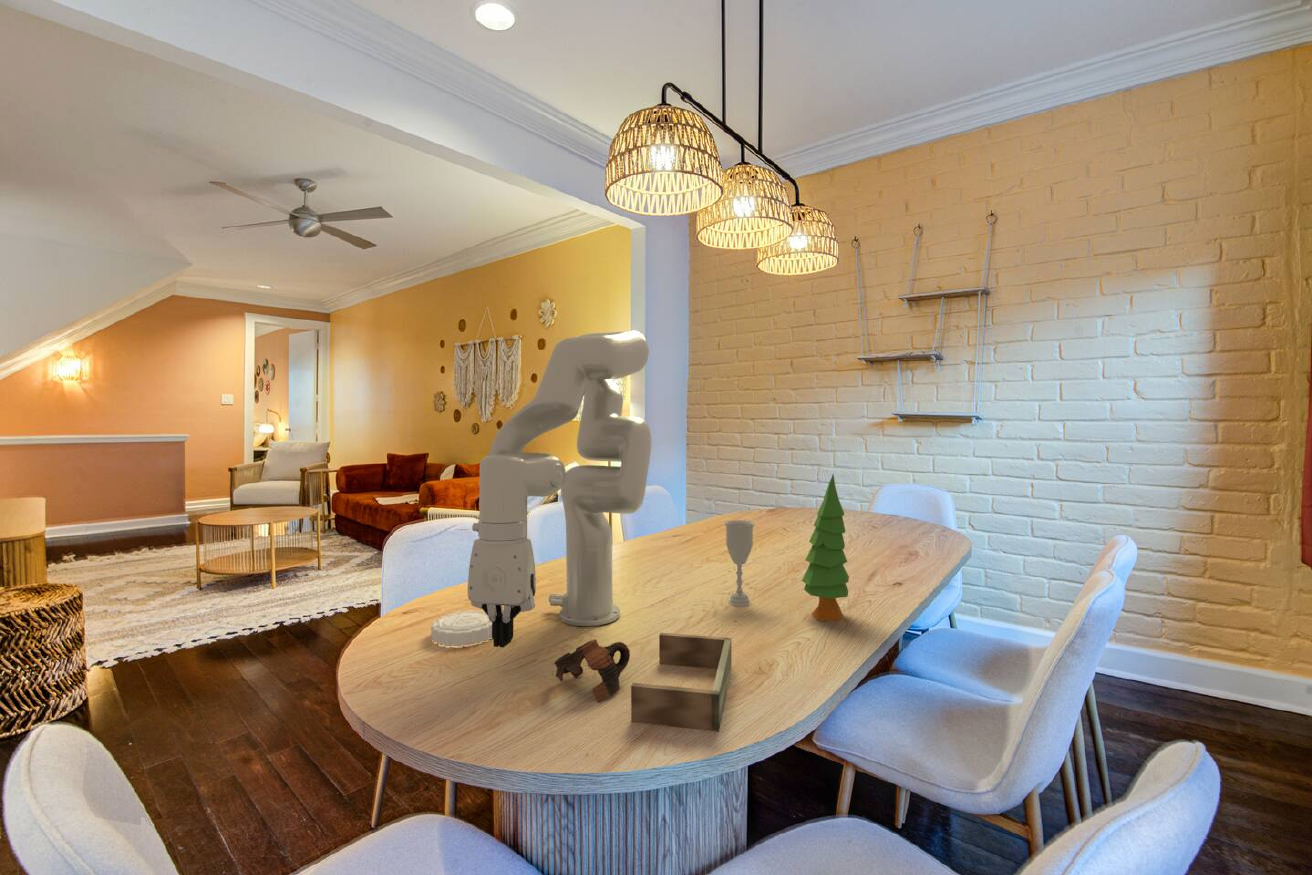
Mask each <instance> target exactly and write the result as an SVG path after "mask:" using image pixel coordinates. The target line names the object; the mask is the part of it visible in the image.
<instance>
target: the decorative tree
mask: <svg viewBox="0 0 1312 875" xmlns="http://www.w3.org/2000/svg"><path fill="white" fill-rule="evenodd" d="M830 477H831V478H830V480H829V482H828V485H827V488H826V491H825V494H824V497H823V500H822V503H821V505H820V507H819V508H818V509H819V510H818V511H817V513H816V515H817V516H816V519H815V521H814V523H813V526H814V527H815V528H814V530H813V532H812V535H811V537H810V539H809V541H808V542H809V543H810V544H812V546H811V548H810V549H809V552H808V554H807V556H806V558H805V560H804V561H805V562H807V563H809V565H808V566H807V568H806V571H805V573H804V575H803V577H802V580H801V582H803V583H805V586H804V588H803V591H804V592H806V593H808V594H809V595H810V596H813V597H817V598H818V603H817V604H818V605H817V607H816V608H815V609H814V610H813V611H812V612H811V616H812V617H813V618H815V619H816V620H817V621H823V620H824V621H823V622H841V619H842V618H843V616H844V615H843V612H842V610H841V607H840V605H839V603H838V602H837V599H839V598H841V599H842V598H848V597H849V589H848V585H847V583H849V581H850V580H849V579H850V576H849V574H848V572H847V570H846V568H845V564H846V563H848V559H847V556H846V555H845V552H844V549H846V547H845V546H846V545H845V540H844V535H843V534H845V533H846V527H845V526H846V525H845V522H844V517H843V516H845V511H844V508H843V507H842V503H841V501H840V499H839V496H838V491H837V488H836V483H835V474H834V473H832V476H830Z"/></svg>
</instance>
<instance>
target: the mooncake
mask: <svg viewBox="0 0 1312 875" xmlns="http://www.w3.org/2000/svg"><path fill="white" fill-rule="evenodd" d="M430 631H431V632H430V633H431V634H430V636H431V638H430V639H432V640H433V642H437V643H438V644H440V645H443V644H444V645H445V646H452V645H453V646H461V645H470V644H475V643H480V642H481V641H487V640H489V638H492V622H491V621H490V620H489V617H488V615H487V614H486V613H485V612H484V611H480V610H478V611H477V610H461V611H458V612H457V611H456V612H455V613H450V614H444V615H443V616H442V617H438V618H437V619H436V620H435V621H433V622H432V623H431V627H430ZM489 641H490V640H489ZM433 642H432V643H433Z"/></svg>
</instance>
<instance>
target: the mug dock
mask: <svg viewBox="0 0 1312 875" xmlns="http://www.w3.org/2000/svg"><path fill="white" fill-rule="evenodd" d="M658 638H659V639H658V640H659V646H658V648H659V650H658V651H659V657H658V658H659V659H658V660H659V662H658V663H659V665H667V666H676V667H677V666H678V667H689V668H701V669H709V670H710V669H711V670H716V675H715V677H714V682H713V686H712V689H705V688H704V689H702V688H701V689H700V688H691V687H681V686H672V685H671V686H670V685H660V684H649V683H641V682H640V683H638V682H632V684H631V686H630V706H631V707H630V709H631V710H630V712H631V713H630V716H631V717H630V718H631V719H630V721H631V723H636V724H637V723H638V724H646V725H647V724H648V725H655V726H663V727H664V726H665V727H673V728H683V729H693V730H699V731H700V730H701V731H702V730H703V731H711V732H720V728H721V724H722V719H723V713H724V709H725V703H726V698H727V692H728V688H729V687H728V686H729V682H730V677H731V671H732V637H723V636H722V637H721V636H710V635H709V636H707V635H696V634H683V633H681V634H680V633H670V632H669V633H668V632H660V633H659V637H658Z"/></svg>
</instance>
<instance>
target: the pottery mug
mask: <svg viewBox="0 0 1312 875" xmlns="http://www.w3.org/2000/svg"><path fill="white" fill-rule="evenodd" d="M617 652H619V659H618V662H615V659H614V657H615V654H616V653H617ZM630 656H631V652H630V648H629V647H628V646H627V644H626V643H624V642H622V641H616V642H613V643H611V644H610V645H608V646H602V645H600V644H599V643H598V640H597V639H591V640H590V641H588V642H586V643H584V644H582V645H580V646H577V648H575V650H574V651H572V652H567V653H565V654H564V655H562V656H560V657H559V658H557V659H556V660H555V661H554V662H553V663H554V665H555V666H556V672H555V677H556V678H558V680H559V681H560V682H563V680H564V679H563V678H564V675H565V674H571V675H572V677H574V678H575V679H578V678H579V677H580V676H581V675H582V674H583V673H584V667H582V666H581V665H582V662H583V660H584V659H585V661H586V663H587V666H588V667H589V668H590V669H591V670H593V671H597V672H598V674H599V676H600V677H601V680H602V681H601V682H600V683H598V685H596V686H594V687H593V688H592V690H591V691H592V693H593V695H594V697H595V700H596V702H597V703H601V702H603V701H605V700H606V699H608V698H610V696H613V695H614V694H616V693H617V692H619V691H620V688H621V687H620V679H619V678H620V675H621V673H622V672H623V671H624V669H625V668H627V666H628V664H629V662H630Z"/></svg>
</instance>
